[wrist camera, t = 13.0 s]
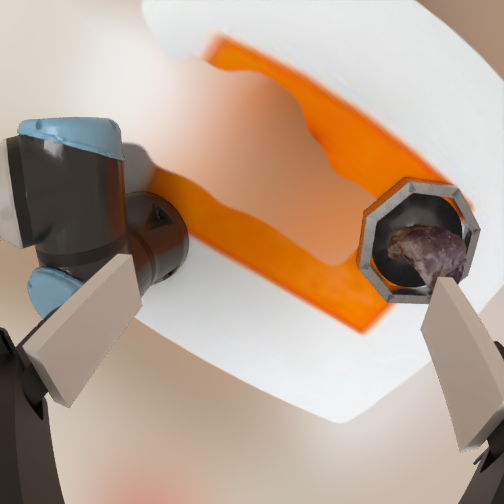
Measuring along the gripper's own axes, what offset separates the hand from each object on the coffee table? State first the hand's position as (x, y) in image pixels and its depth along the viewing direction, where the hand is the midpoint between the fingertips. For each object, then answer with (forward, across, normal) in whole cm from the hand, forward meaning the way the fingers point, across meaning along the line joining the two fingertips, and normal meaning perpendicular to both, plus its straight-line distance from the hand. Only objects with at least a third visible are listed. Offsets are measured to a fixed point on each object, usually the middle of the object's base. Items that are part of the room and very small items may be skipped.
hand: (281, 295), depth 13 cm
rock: (+31, +20, -10) cm, 38 cm away
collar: (+32, +19, -10) cm, 38 cm away
